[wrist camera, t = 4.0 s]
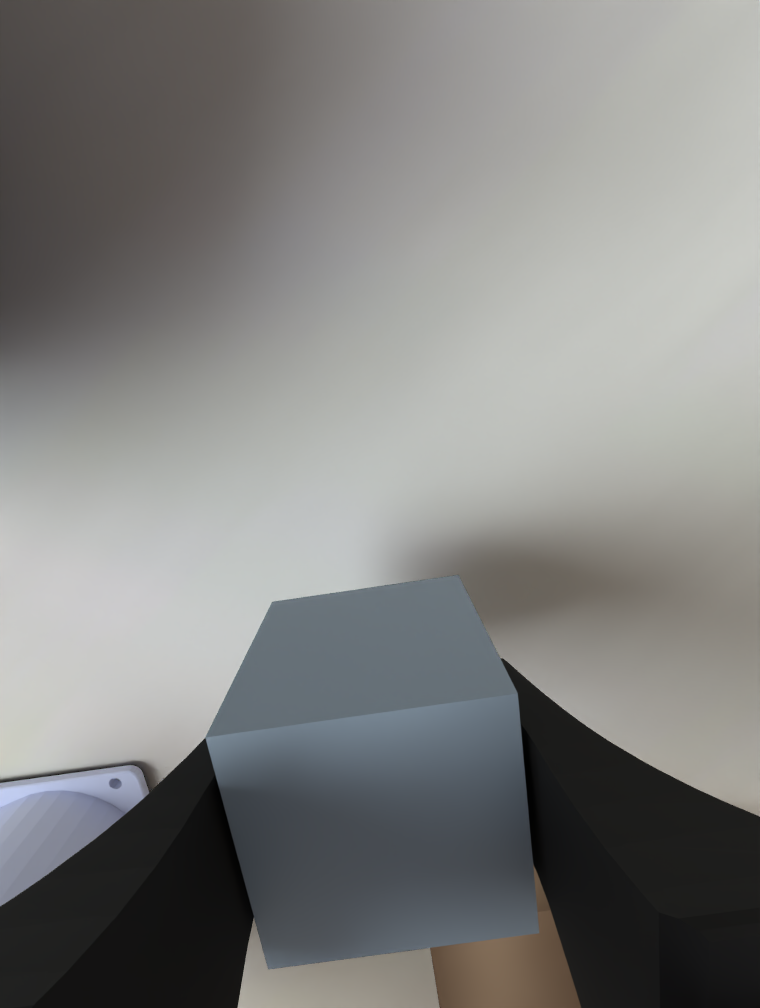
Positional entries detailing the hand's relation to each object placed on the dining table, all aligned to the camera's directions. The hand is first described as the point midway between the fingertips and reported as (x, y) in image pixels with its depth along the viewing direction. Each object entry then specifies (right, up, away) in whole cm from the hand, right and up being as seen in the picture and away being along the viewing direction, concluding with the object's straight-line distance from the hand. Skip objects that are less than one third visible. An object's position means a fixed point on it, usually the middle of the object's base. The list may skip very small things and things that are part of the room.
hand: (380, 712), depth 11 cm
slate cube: (0, 0, +2) cm, 2 cm away
